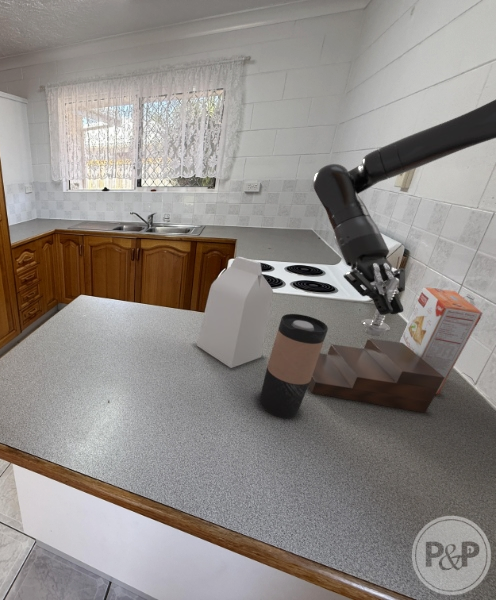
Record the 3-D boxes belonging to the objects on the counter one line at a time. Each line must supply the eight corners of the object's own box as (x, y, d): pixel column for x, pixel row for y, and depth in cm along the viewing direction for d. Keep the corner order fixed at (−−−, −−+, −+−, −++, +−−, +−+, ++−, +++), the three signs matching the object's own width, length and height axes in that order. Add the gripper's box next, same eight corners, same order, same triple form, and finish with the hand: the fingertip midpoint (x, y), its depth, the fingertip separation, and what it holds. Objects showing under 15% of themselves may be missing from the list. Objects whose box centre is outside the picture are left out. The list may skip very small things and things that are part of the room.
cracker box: (389, 358, 84) (422, 285, 76) (419, 365, 81) (457, 290, 73) (403, 386, 73) (444, 305, 65) (439, 396, 70) (486, 312, 62)
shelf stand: (311, 393, 70) (324, 359, 67) (293, 359, 83) (303, 329, 79) (425, 412, 65) (445, 377, 61) (387, 373, 77) (402, 342, 74)
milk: (196, 345, 88) (211, 256, 78) (225, 336, 93) (243, 251, 83) (231, 368, 78) (253, 269, 68) (261, 357, 83) (286, 263, 73)
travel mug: (298, 402, 67) (327, 319, 59) (298, 425, 61) (330, 336, 53) (259, 389, 71) (281, 310, 63) (256, 410, 65) (280, 325, 57)
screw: (392, 339, 66) (367, 337, 67) (376, 328, 71) (353, 326, 71) (418, 282, 61) (391, 280, 62) (399, 274, 65) (374, 272, 66)
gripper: (347, 232, 66) (381, 308, 60) (402, 231, 68) (440, 305, 62) (319, 250, 73) (347, 320, 67) (370, 249, 75) (402, 317, 69)
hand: (392, 313), depth 64 cm, fingers closed on screw, 2 cm apart
